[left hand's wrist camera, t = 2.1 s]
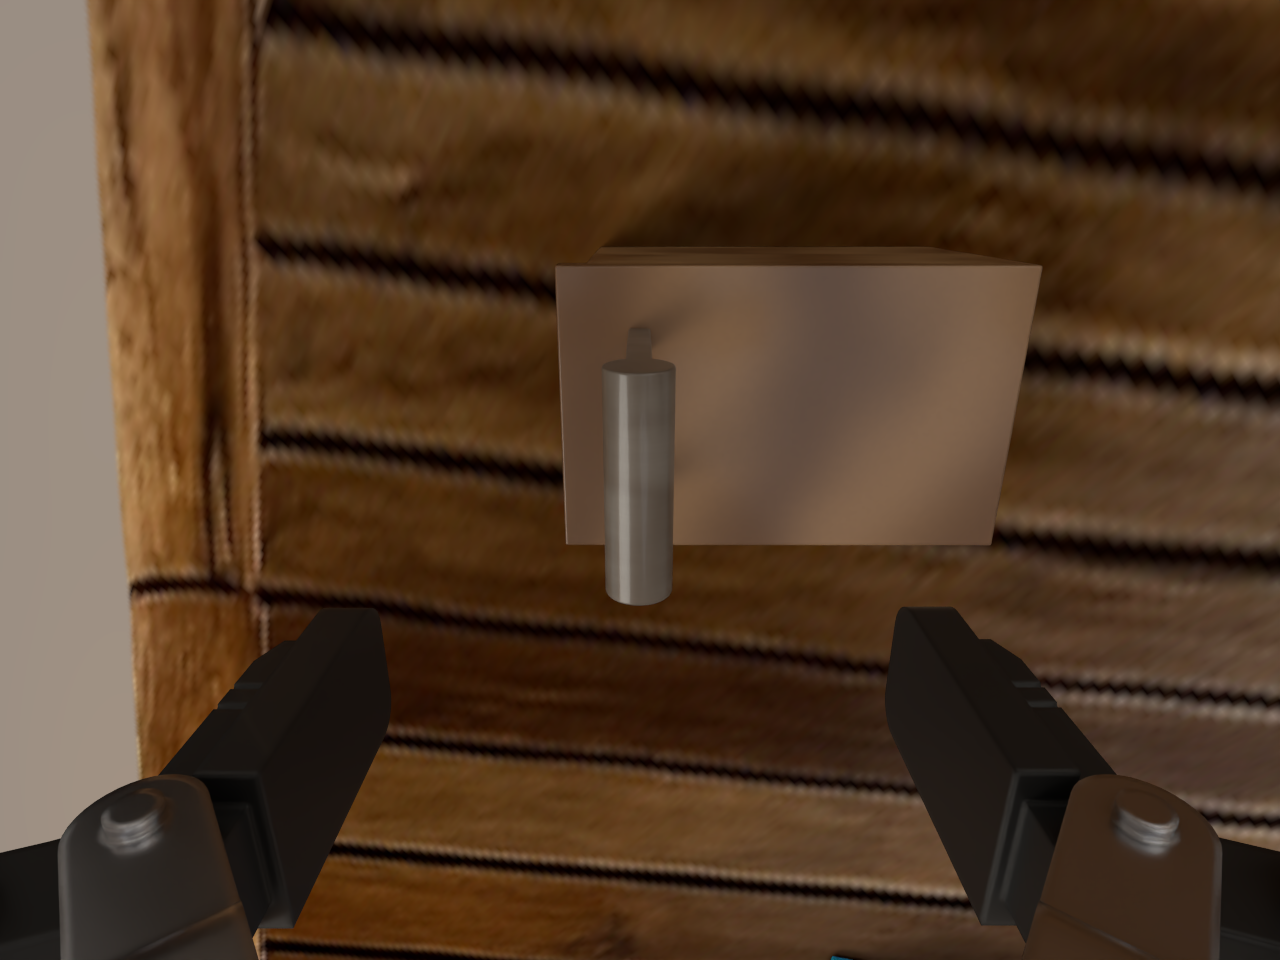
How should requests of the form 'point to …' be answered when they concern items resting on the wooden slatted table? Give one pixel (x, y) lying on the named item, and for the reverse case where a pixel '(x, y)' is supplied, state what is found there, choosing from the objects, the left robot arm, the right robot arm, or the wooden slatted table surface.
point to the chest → (787, 255)
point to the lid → (784, 405)
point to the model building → (838, 958)
